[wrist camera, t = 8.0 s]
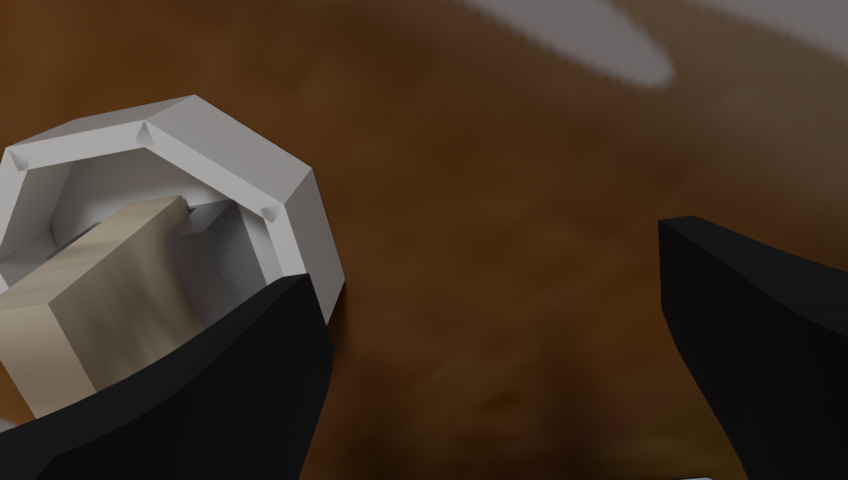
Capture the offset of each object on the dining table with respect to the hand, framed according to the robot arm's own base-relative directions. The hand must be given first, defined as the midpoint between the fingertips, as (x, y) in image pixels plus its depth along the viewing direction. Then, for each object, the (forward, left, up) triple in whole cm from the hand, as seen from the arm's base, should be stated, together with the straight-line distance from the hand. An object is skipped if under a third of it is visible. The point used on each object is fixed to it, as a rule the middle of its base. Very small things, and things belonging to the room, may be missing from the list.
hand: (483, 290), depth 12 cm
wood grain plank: (-2, +12, -9) cm, 15 cm away
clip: (-2, +12, -10) cm, 16 cm away
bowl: (-2, +12, -10) cm, 16 cm away
